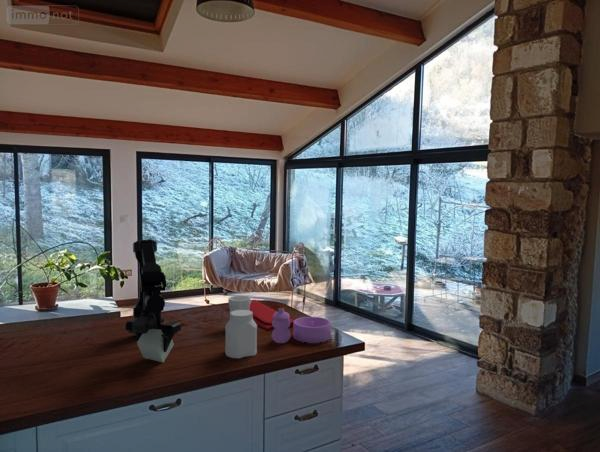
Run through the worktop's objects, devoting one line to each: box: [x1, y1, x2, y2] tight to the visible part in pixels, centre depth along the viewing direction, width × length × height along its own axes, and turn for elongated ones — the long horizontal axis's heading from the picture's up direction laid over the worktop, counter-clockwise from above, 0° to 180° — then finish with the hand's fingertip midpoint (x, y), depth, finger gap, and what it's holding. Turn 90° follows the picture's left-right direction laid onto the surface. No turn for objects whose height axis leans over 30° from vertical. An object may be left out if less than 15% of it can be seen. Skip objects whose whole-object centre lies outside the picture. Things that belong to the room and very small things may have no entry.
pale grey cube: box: [136, 326, 175, 363], centre depth 157 cm, size 8×8×9 cm
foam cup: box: [227, 295, 252, 313], centre depth 195 cm, size 10×9×13 cm
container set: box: [271, 307, 332, 344], centre depth 183 cm, size 25×15×13 cm, turn 115°
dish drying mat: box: [249, 299, 295, 332], centre depth 213 cm, size 16×41×4 cm, turn 32°
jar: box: [224, 310, 258, 359], centre depth 166 cm, size 12×10×15 cm
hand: (153, 350), depth 156 cm, fingers open, 9 cm apart
